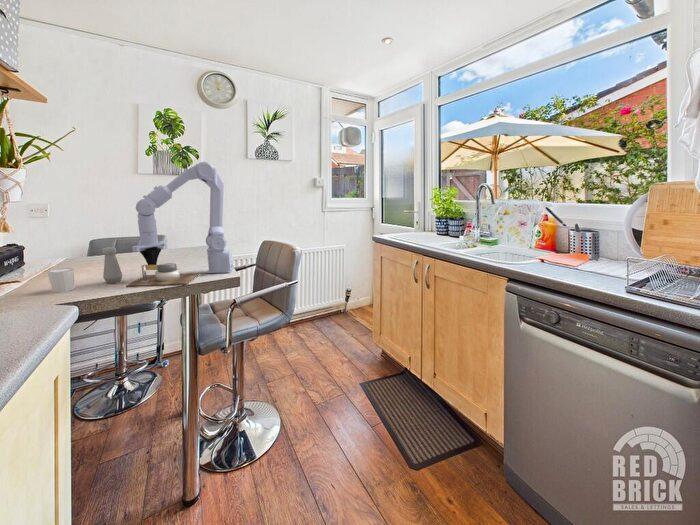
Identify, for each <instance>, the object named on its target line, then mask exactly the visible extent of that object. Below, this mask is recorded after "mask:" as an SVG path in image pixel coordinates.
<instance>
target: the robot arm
mask: <svg viewBox="0 0 700 525" xmlns="http://www.w3.org/2000/svg"><path fill="white" fill-rule="evenodd" d="M197 179H198V180H200V181H201V182H204V184H206V185H207V186H208V187H209V189H210V190H209V192H210V194H209V195H210V196H209V197H210V198H209V226H208V230H207V231H208V232H207V236H206V238H205V244H206V246H207V247H208V248H207V250H206V253H207V262H208V263H207V264H208V270H206V272H205V274H220V273H221V274H222V273H223V274H224V273H225V274H226V273H230V272H232V270H233V269H234V264H233V262H234V261H233V252H232V250H228V249H226V248H225V247H226V245H227V241H226V238H225V232H224V228H223V224H224V223H223V219H224V218H223V216H224V182H223V180H222V179H221V177H220V175H219V173H218V171H217V168H216V167H215V166H213V165H212V164H211V163H209V162H207V161H201V162H199V163H197V164H195V165H193V166H191V167H189V168H188V169H184V170H183V172H181V173H180V174H179V175H178V176H176V177H175V178H174V179H172V180H171V181H170V182H169V183H167V185H159V186H157V185H156V186H155V187H153V190H152V191H150V193H148V194H147V195H146V194H145V195H143V196H142V198H141V199H140V200H138V201H137V203H136V205H135V210H136V212H137V219H138V220H137V224H138V233H139V240H140V241H139V243H138V244H136V245H134V246H131V249H132V252H133V253H140V255H142V257H143V258H144V259H145V262H146V265H158V263H157V262H158V258H159V255H160V254H161V253H162V249H161V247H166V246H167V245H166V244H167V242H166V241H164V240H159V238H158V229H157V220H156V218H155V212H156V209H159V208H161V207H162V206H163V205H164V204H166V203H167V202H168V201H169V200H171V199H172V197H173V193H174V192H175V191H177V189H179V188H181V187H182V186H183V185H184V184H186V183H188V182H189V181H192V180H197Z"/></svg>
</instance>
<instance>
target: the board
mask: <svg viewBox="0 0 700 525" xmlns="http://www.w3.org/2000/svg"><path fill="white" fill-rule="evenodd" d="M199 274H200V272H197V273H196V272H194V273H193V272H192V273H191V272H190V273H187V272H186V273H180V278H179V279H177V280H172V281H156V275H155V274H146V276H147V280H150V282H147V283H141V281H142V280H143V276H141V277H139V278H138V279H136V280H134V281H132V282H129V283H128V284H126V285H125V287H126V288H138V287H139V288H140V287H160V286H161V287H163V286H164V287H166V285H170V286H187V285H189V284H190V283H191V282H192V281H194V280H195V279H196V278H197V277H199V276H200V275H201V274H200V275H199ZM198 275H199V276H198ZM195 277H196V278H195ZM194 278H195V279H194ZM189 282H190V283H189Z"/></svg>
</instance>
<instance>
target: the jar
mask: <svg viewBox="0 0 700 525" xmlns="http://www.w3.org/2000/svg"><path fill="white" fill-rule="evenodd" d="M180 274H181V272H180V269H179V268H177V270H175V271H171V272H158V270H155V272H154V275H156V281H172V280H177V279H179V278H180Z"/></svg>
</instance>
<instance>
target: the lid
mask: <svg viewBox="0 0 700 525" xmlns="http://www.w3.org/2000/svg"><path fill="white" fill-rule="evenodd" d="M177 265H178V264H177V263H173V262H171V263H170V262H167V263H162V264H161V263H160V264H157V265H148V264H143V265H141V266H145V268H146V271H158V272H171V271H175V270H177V269H178V267H177Z"/></svg>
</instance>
